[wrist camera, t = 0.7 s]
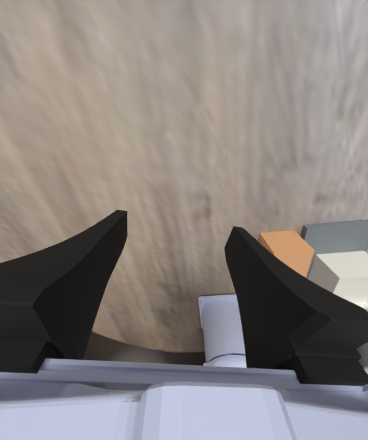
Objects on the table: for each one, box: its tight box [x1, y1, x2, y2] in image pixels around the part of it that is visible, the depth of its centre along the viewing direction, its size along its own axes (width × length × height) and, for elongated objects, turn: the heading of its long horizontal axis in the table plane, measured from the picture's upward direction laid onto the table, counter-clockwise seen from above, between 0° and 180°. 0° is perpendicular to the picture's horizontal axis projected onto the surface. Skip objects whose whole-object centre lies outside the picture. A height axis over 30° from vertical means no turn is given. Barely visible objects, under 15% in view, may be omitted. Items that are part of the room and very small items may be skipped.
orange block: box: [259, 230, 315, 278], centre depth 23 cm, size 5×5×4 cm
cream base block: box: [308, 251, 368, 309], centre depth 24 cm, size 7×7×4 cm
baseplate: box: [301, 220, 368, 279], centre depth 26 cm, size 14×9×1 cm, turn 7°
